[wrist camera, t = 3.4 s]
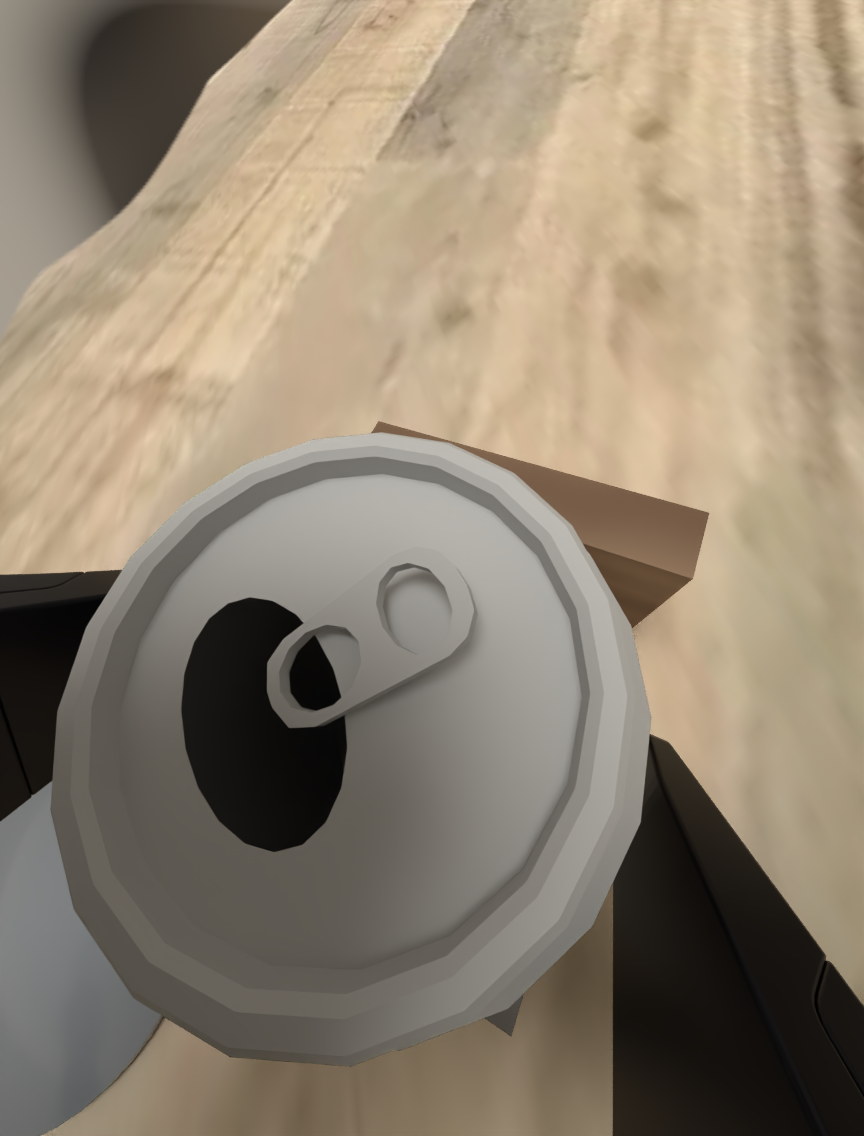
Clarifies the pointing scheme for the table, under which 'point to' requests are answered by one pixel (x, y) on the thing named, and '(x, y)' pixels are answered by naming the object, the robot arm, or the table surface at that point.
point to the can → (349, 751)
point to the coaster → (54, 987)
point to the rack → (610, 547)
